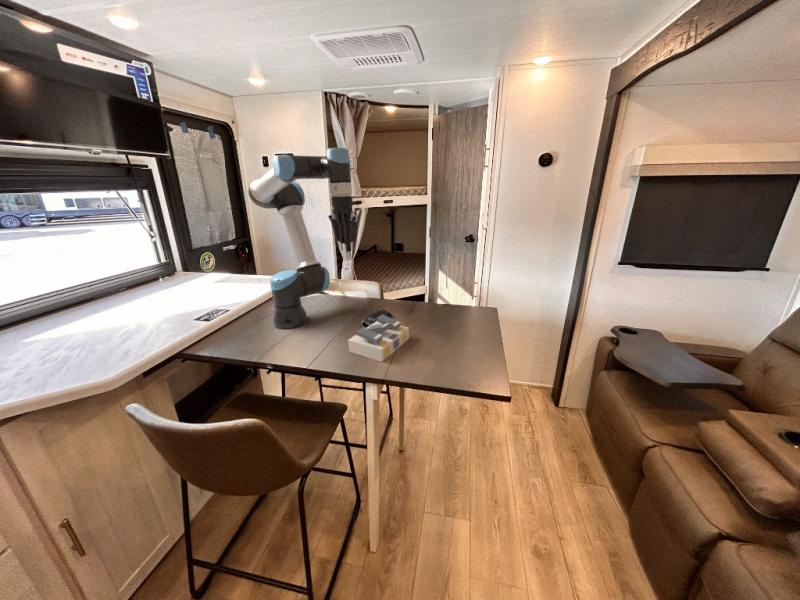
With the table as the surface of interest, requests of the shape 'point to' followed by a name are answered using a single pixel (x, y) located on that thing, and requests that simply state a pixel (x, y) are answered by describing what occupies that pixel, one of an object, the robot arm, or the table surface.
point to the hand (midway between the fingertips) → (347, 259)
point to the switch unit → (379, 343)
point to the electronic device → (375, 317)
